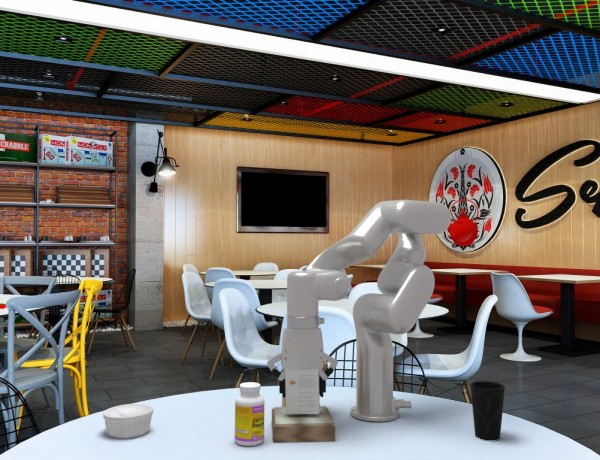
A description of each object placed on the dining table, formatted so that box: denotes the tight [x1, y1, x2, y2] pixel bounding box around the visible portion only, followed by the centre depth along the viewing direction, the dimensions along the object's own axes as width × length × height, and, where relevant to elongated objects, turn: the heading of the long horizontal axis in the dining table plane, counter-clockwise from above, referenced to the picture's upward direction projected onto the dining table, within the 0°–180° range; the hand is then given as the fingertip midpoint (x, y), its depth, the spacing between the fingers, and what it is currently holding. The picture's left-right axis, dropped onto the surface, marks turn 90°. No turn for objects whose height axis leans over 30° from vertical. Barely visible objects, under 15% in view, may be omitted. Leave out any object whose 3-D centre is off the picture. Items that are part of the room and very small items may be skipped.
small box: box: [285, 369, 321, 414], centre depth 137 cm, size 8×6×10 cm
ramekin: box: [102, 403, 154, 440], centre depth 136 cm, size 11×11×5 cm
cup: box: [469, 380, 506, 441], centre depth 134 cm, size 8×8×12 cm
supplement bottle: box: [234, 381, 265, 447], centre depth 130 cm, size 7×7×13 cm
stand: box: [271, 405, 336, 443], centre depth 137 cm, size 14×14×4 cm
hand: (302, 395), depth 137 cm, fingers closed on small box, 8 cm apart
